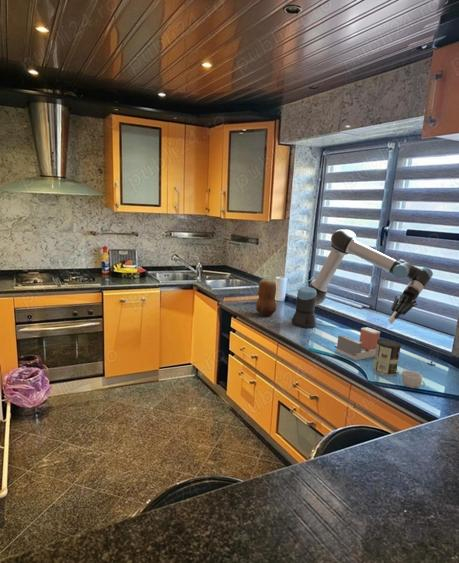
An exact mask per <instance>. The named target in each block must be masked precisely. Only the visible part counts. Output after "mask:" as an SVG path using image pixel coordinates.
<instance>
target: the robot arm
mask: <svg viewBox="0 0 459 563" xmlns="http://www.w3.org/2000/svg"><path fill="white" fill-rule="evenodd" d="M357 240H358V239H357V235H356V233H355V232H354V231H353V230H350V229H338V230H336V231H334V232H333V233H332V234H331V237H330V242H331V245H330V247H331V250H330V252H329V254H328V255H327V258H326V260H325V261H324V263H323V265H322V267H321V269H320V271H319V273H318V275H317V277H316V278H315V280H314V281H311V283H310V284H309V285H308V286H304V287H300V288H298V289H297V293H296V304H295V312H294V314H293V317H292V318H291V324H292V325H293V326H295V327H298V328H305V329H311V328H316V324H317V322H316V317H315V308H316V307H315V306H318V305H320V304H322V303H323V302H324V301H325V300H326V297H327V296H326V294H327V293H328V286H329V284H330V282H331V281H332V278H333V276H334V275H335V273H336V272H337V269H338V268H339V266H340V263H341V262H342V260H343V259H344V257H345V256H348V255H349V253H351V254H352V255H354V256H357V257H358V258H360V259H362V260H364V261H366V262H368V263H370V264H372V265H374V266H377V267H378V268H379V269H382V270H384V271H386V272H387V273H390V274H392V275H393V276H394V278H396V279H404V278H407V279H409V280H411V281H410V282H409V283H408V284H407V285H406V287H405V289H404V290H403V291H402V293H401V294H400V295H399V296H398V295H395V296H394V301H393V302H392V306H391V307H390V310H391V313H390V314H389V315H390V316H389V318H388V319H387V321H388V322H389V324H391V325H392V324H394V322H395V321H396V320H397V319H399V318H400V316H401V315H403V316H405V315H406V314H407V313H408V312H409V311H410V310H412V309H413V308H414V307H415V306H417V305H418V302H417V300H416V299H417V298H418V297H419V296H420V294H421V292H422V291H423V290H424V288H425V287H426V286H427V284H428V283H429V282H430V280H431V279H432V277H433V275H434V272H433V271H432V269H431V268H429V267H426V266H421V267H420V268H419V267H417V266H415V265H413V264H412V263H410V262H408V261H406V260H405V259H398V260H396V259H395V258H392V257H390V256H389V255H386V254H384V253H382V252H380V251H378V250H376V249H374V248H372V247H370V246H368V245H365V244H363V243H362V242H360V241H357Z"/></svg>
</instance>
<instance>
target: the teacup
mask: <svg viewBox="0 0 459 563" xmlns="http://www.w3.org/2000/svg"><path fill="white" fill-rule="evenodd" d="M422 379H423V375H422V374H421V373H419V372H417V371H413V370H408V369H406V370H402V372H401V382H402V384H403V385H404V386H405V387H406V386H407V387H406V388H409V387H410V388H409V389H417V388H423V387H425V386H426V383H425V381H424V380H422ZM421 383H422V384H423V385H422V384H421Z"/></svg>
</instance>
